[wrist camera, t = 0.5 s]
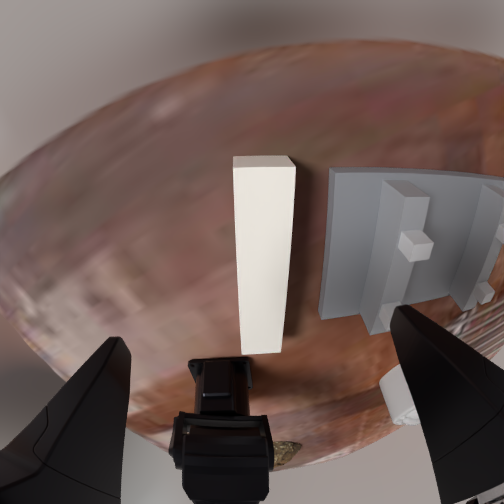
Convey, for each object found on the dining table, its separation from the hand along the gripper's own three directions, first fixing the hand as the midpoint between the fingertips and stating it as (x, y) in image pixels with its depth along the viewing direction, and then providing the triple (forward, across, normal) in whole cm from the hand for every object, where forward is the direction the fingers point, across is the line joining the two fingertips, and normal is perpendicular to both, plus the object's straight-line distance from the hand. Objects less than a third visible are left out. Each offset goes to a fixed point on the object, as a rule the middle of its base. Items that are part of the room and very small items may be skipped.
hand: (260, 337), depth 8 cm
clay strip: (+12, -1, +5) cm, 13 cm away
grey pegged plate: (+12, -16, +5) cm, 20 cm away
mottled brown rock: (+14, 0, +55) cm, 57 cm away
